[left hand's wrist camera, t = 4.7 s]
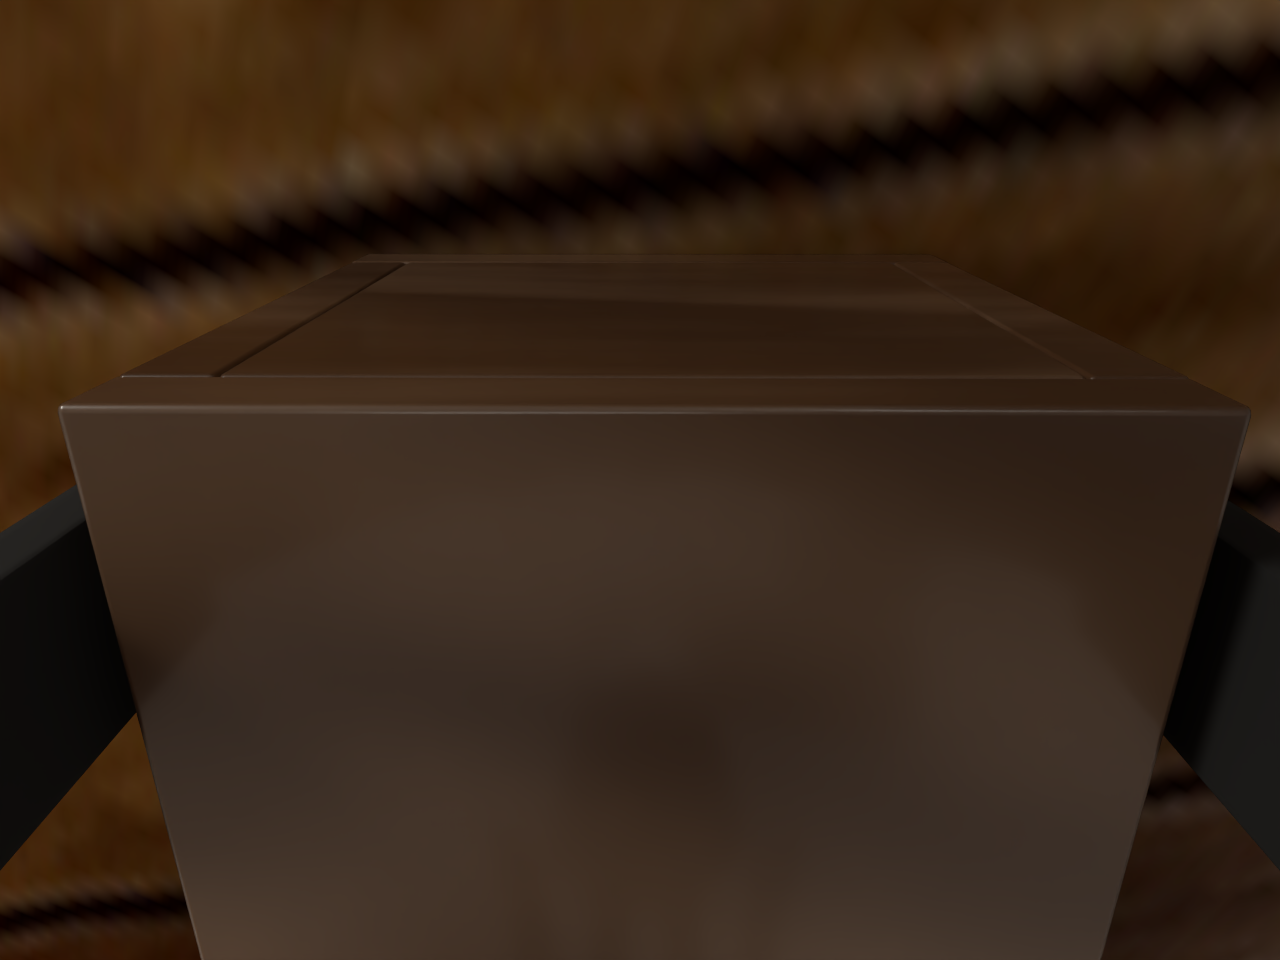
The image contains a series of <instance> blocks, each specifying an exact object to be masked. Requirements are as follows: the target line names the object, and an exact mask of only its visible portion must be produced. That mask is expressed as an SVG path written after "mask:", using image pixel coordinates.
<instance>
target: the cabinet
mask: <svg viewBox="0 0 1280 960" xmlns="http://www.w3.org/2000/svg"><path fill="white" fill-rule="evenodd" d="M58 415H59V419H60V423H61V427H62V430H63V434H64V438H65V442H66V446H67V450H68V453H69V457H70V461H71V465H72V469H73V472H74V476H75V480H76V484H77V488H78V491H79V495H80V499H81V503H82V507H83V511H84V514H85V518H86V522H87V526H88V530H89V533H90V537H91V541H92V545H93V549H94V552H95V556H96V560H97V564H98V568H99V572H100V575H101V579H102V583H103V587H104V591H105V594H106V598H107V602H108V606H109V610H110V613H111V617H112V621H113V625H114V629H115V632H116V636H117V640H118V644H119V648H120V652H121V655H122V659H123V663H124V667H125V671H126V674H127V678H128V682H129V686H130V690H131V693H132V697H133V701H134V705H135V709H136V713H137V716H138V720H139V724H140V728H141V732H142V735H143V739H144V743H145V747H146V751H147V754H148V758H149V762H150V766H151V770H152V774H153V777H154V781H155V785H156V789H157V793H158V796H159V800H160V804H161V808H162V812H163V815H164V819H165V823H166V827H167V831H168V835H169V838H170V842H171V846H172V850H173V854H174V857H175V861H176V865H177V869H178V873H179V876H180V880H181V884H182V888H183V892H184V896H185V899H186V903H187V907H188V911H189V915H190V918H191V922H192V926H193V930H194V934H195V937H196V941H197V945H198V949H199V953H200V957H201V960H1101V958H1102V954H1103V951H1104V947H1105V944H1106V940H1107V936H1108V933H1109V929H1110V925H1111V922H1112V918H1113V915H1114V911H1115V907H1116V904H1117V900H1118V896H1119V893H1120V889H1121V885H1122V882H1123V878H1124V875H1125V871H1126V867H1127V864H1128V860H1129V856H1130V853H1131V849H1132V846H1133V842H1134V838H1135V835H1136V831H1137V827H1138V824H1139V820H1140V817H1141V813H1142V809H1143V806H1144V802H1145V798H1146V795H1147V791H1148V788H1149V784H1150V780H1151V777H1152V773H1153V769H1154V766H1155V762H1156V758H1157V755H1158V751H1159V748H1160V744H1161V740H1162V737H1163V733H1164V729H1165V726H1166V722H1167V719H1168V715H1169V711H1170V708H1171V704H1172V700H1173V697H1174V693H1175V690H1176V686H1177V682H1178V679H1179V675H1180V671H1181V668H1182V664H1183V661H1184V657H1185V653H1186V650H1187V646H1188V642H1189V639H1190V635H1191V632H1192V628H1193V624H1194V621H1195V617H1196V613H1197V610H1198V606H1199V602H1200V599H1201V595H1202V592H1203V588H1204V584H1205V581H1206V577H1207V573H1208V570H1209V566H1210V563H1211V559H1212V555H1213V552H1214V548H1215V544H1216V541H1217V537H1218V534H1219V530H1220V526H1221V523H1222V519H1223V515H1224V512H1225V508H1226V505H1227V501H1228V497H1229V494H1230V490H1231V486H1232V483H1233V479H1234V475H1235V472H1236V468H1237V465H1238V461H1239V457H1240V454H1241V450H1242V446H1243V443H1244V439H1245V436H1246V432H1247V428H1248V425H1249V421H1250V417H1251V411H1250V409H1249V407H1247V406H1245V405H1243V404H1241V403H1239V402H1237V401H1235V400H1232V399H1230V398H1228V397H1226V396H1224V395H1222V394H1220V393H1218V392H1216V391H1214V390H1211V389H1209V388H1207V387H1205V386H1203V385H1201V384H1199V383H1197V382H1195V381H1192V380H1190V379H1188V377H1186V376H1184V375H1182V374H1180V373H1178V372H1176V371H1174V370H1172V369H1170V368H1168V367H1165V366H1163V365H1161V364H1159V363H1157V362H1155V361H1153V360H1151V359H1149V358H1146V357H1144V356H1142V355H1140V354H1138V353H1136V352H1134V351H1132V350H1130V349H1128V348H1125V347H1123V346H1121V345H1119V344H1117V343H1115V342H1113V341H1111V340H1109V339H1106V338H1104V337H1102V336H1100V335H1098V334H1096V333H1094V332H1092V331H1090V330H1088V329H1085V328H1083V327H1081V326H1079V325H1077V324H1075V323H1073V322H1071V321H1069V320H1067V319H1064V318H1062V317H1060V316H1058V315H1056V314H1054V313H1052V312H1050V311H1048V310H1045V309H1043V308H1041V307H1039V306H1037V305H1035V304H1033V303H1031V302H1029V301H1027V300H1024V299H1022V298H1020V297H1018V296H1016V295H1014V294H1012V293H1010V292H1008V291H1006V290H1003V289H1001V288H999V287H997V286H995V285H993V284H991V283H989V282H987V281H984V280H982V279H980V278H978V277H976V276H974V275H972V274H970V273H968V272H966V271H963V270H961V269H959V268H957V267H955V266H953V265H951V264H949V263H947V262H945V261H943V260H941V259H939V258H937V257H935V256H933V255H799V254H368V255H366V256H364V257H362V258H360V259H358V260H356V261H354V262H353V263H351V264H349V265H347V266H345V267H343V268H341V269H339V270H337V271H335V272H333V273H330V274H328V275H326V276H324V277H322V278H320V279H318V280H316V281H314V282H312V283H310V284H308V285H306V286H304V287H302V288H299V289H297V290H295V291H293V292H291V293H289V294H287V295H285V296H283V297H281V298H279V299H277V300H275V301H273V302H271V303H268V304H266V305H264V306H262V307H260V308H258V309H256V310H254V311H252V312H250V313H248V314H246V315H244V316H242V317H239V318H237V319H235V320H233V321H231V322H229V323H227V324H225V325H223V326H221V327H219V328H217V329H215V330H213V331H211V332H208V333H206V334H204V335H202V336H200V337H198V338H196V339H194V340H192V341H190V342H188V343H186V344H184V345H182V346H180V347H177V348H175V349H173V350H171V351H169V352H167V353H165V354H163V355H161V356H159V357H157V358H155V359H153V360H151V361H149V362H146V363H144V364H142V365H140V366H138V367H136V368H134V369H132V370H130V371H128V372H126V373H124V374H122V375H121V376H120V377H116V378H114V379H112V380H110V381H108V382H106V383H104V384H102V385H99V386H97V387H95V388H93V389H91V390H89V391H87V392H85V393H83V394H81V395H79V396H77V397H75V398H73V399H71V400H69V401H66V402H64V403H62V404H60V406H59V407H58Z"/></svg>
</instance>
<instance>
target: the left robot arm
mask: <svg viewBox="0 0 1280 960" xmlns="http://www.w3.org/2000/svg"><path fill="white" fill-rule="evenodd" d="M135 713H136V709H135V705H134V701H133V697H132V693H131V690H130V686H129V682H128V678H127V674H126V671H125V667H124V663H123V659H122V655H121V652H120V648H119V644H118V640H117V636H116V632H115V629H114V625H113V621H112V617H111V613H110V610H109V606H108V602H107V598H106V594H105V591H104V587H103V583H102V579H101V575H100V572H99V568H98V564H97V560H96V556H95V552H94V549H93V545H92V541H91V537H90V533H89V530H88V526H87V522H86V518H85V514H84V511H83V507H82V503H81V499H80V495H79V491H78V488H77V485H75V486H73V487H72V488H70V489H69V490H67V491H66V492H64V493H62V494H61V495H59V496H58V497H56V498H55V499H53V500H51V501H50V502H48V503H47V504H45V505H44V506H42V507H40V508H39V509H37V510H36V511H34V512H33V513H31V514H29V515H28V516H26V517H25V518H23V519H22V520H20V521H18V522H17V523H15V524H14V525H12V526H11V527H9V528H7V529H6V530H4V531H3V532H1V533H0V870H1V869H2V868H3V867H4V865H5V864H6V863H7V862H8V861H9V860H10V858H11V857H12V856H13V855H14V854H15V853H16V851H17V850H18V849H19V848H20V847H21V846H22V845H23V843H24V842H25V841H26V840H27V839H28V838H29V836H30V835H31V834H32V833H33V832H34V831H35V829H36V828H37V827H38V826H39V825H40V824H41V822H42V821H43V820H44V819H45V818H46V817H47V815H48V814H49V813H50V812H51V811H52V810H53V808H54V807H55V806H56V805H57V804H58V803H59V801H60V800H61V799H62V798H63V797H64V796H65V794H66V793H67V792H68V791H69V790H70V789H71V787H72V786H73V785H74V784H75V783H76V782H77V780H78V779H79V778H80V777H81V776H82V775H83V773H84V772H85V771H86V770H87V769H88V768H89V767H90V765H91V764H92V763H93V762H94V761H95V760H96V758H97V757H98V756H99V755H100V754H101V753H102V751H103V750H104V749H105V748H106V747H107V746H108V744H109V743H110V742H111V741H112V740H113V739H114V737H115V736H116V735H117V734H118V733H119V732H120V730H121V729H122V728H123V727H124V726H125V725H126V723H127V722H128V721H129V720H130V719H131V718H132V716H133V715H134V714H135ZM1163 735H1164V736H1165V737H1166V739H1167V740H1168V741H1169V742H1170V743H1171V744H1172V746H1173V747H1174V748H1175V749H1176V750H1177V751H1178V753H1179V754H1180V755H1181V756H1182V757H1183V758H1184V760H1185V761H1186V762H1187V763H1188V764H1189V765H1190V767H1191V768H1192V769H1193V770H1194V771H1195V772H1196V773H1197V775H1198V776H1199V777H1200V778H1201V779H1202V780H1203V782H1204V783H1205V784H1206V785H1207V786H1208V787H1209V789H1210V790H1211V791H1212V792H1213V793H1214V794H1215V796H1216V797H1217V798H1218V799H1219V800H1220V801H1221V803H1222V804H1223V805H1224V806H1225V807H1226V808H1227V810H1228V811H1229V812H1230V813H1231V814H1232V815H1233V817H1234V818H1235V819H1236V820H1237V821H1238V822H1239V824H1240V825H1241V826H1242V827H1243V828H1244V829H1245V831H1246V832H1247V833H1248V834H1249V835H1250V836H1251V838H1252V839H1253V840H1254V841H1255V842H1256V843H1257V845H1258V846H1259V847H1260V848H1261V849H1262V850H1263V851H1264V853H1265V854H1266V855H1267V856H1268V857H1269V858H1270V860H1271V861H1272V862H1273V863H1274V864H1275V865H1276V867H1277V868H1278V869H1279V870H1280V533H1279V532H1277V531H1276V530H1274V529H1273V528H1271V527H1269V526H1268V525H1266V524H1265V523H1263V522H1262V521H1260V520H1258V519H1257V518H1255V517H1254V516H1252V515H1251V514H1249V513H1247V512H1246V511H1244V510H1243V509H1241V508H1240V507H1238V506H1236V505H1235V504H1233V503H1232V502H1230V501H1229V500H1228V501H1227V505H1226V508H1225V512H1224V515H1223V519H1222V523H1221V526H1220V530H1219V534H1218V537H1217V541H1216V544H1215V548H1214V552H1213V555H1212V559H1211V563H1210V566H1209V570H1208V573H1207V577H1206V581H1205V584H1204V588H1203V592H1202V595H1201V599H1200V602H1199V606H1198V610H1197V613H1196V617H1195V621H1194V624H1193V628H1192V632H1191V635H1190V639H1189V642H1188V646H1187V650H1186V653H1185V657H1184V661H1183V664H1182V668H1181V671H1180V675H1179V679H1178V682H1177V686H1176V690H1175V693H1174V697H1173V700H1172V704H1171V708H1170V711H1169V715H1168V719H1167V722H1166V726H1165V729H1164V733H1163Z"/></svg>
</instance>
